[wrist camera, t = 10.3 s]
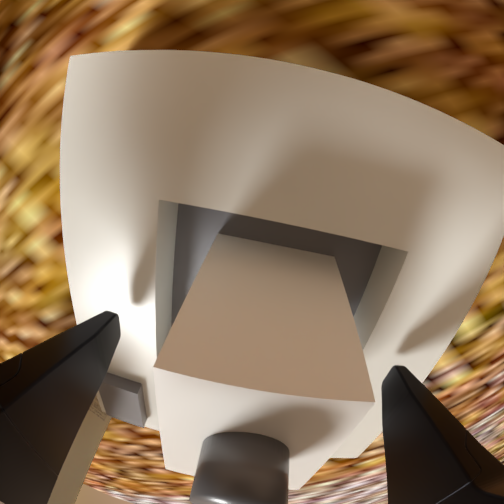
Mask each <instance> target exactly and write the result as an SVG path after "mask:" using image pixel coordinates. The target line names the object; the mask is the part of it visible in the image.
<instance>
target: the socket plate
mask: <svg viewBox="0 0 504 504" xmlns="http://www.w3.org/2000/svg"><path fill="white" fill-rule="evenodd" d="M60 200H61V218H62V231H63V242H64V251H65V260H66V267H67V274H68V281H69V287H70V293H71V298H72V304H73V309H74V314H75V319H76V323H77V325H78V324H80V323H82V322H84V321H86V320H88V319H90V318H92V317H94V316H96V315H98V314H100V313H102V312H104V311H111V312H114V313H117V314H118V316H119V321H120V330H121V336H120V340H119V343H118V345H117V348H116V350H115V353H114V355H113V358H112V360H111V363H110V366H109V368H108V371H107V373H106V376H105V378H104V380H103V382H102V384H101V386H100V388H99V390H98V392H97V394H96V396H97V399H98V402H99V404H100V407H101V410H102V412H105V413H106V414H107V415H108V416H111V417H114V418H116V419H119V420H122V421H125V422H128V423H131V424H133V425H136V426H140V427H143V428H144V426H145V427H148V428H151V429H155V430H158V431H160V429H159V422H158V413H157V404H156V395H155V384H154V372H153V366H154V364H155V361H156V359H157V357H158V355H159V353H160V351H161V348H162V346H163V344H164V342H165V340H166V338H167V336H168V334H169V331H170V329H171V327H172V325H173V323H174V321H175V319H176V317H177V315H178V312H179V310H180V308H181V306H182V304H183V302H184V300H185V298H186V296H187V294H188V292H189V290H190V288H191V286H192V284H193V282H194V280H195V278H196V276H197V274H198V272H199V270H200V268H201V266H202V264H203V262H204V260H205V258H206V256H207V254H208V252H209V250H210V248H211V246H212V244H213V242H214V240H215V238H216V236H217V234H223V235H228V236H233V237H238V238H244V239H249V240H254V241H259V242H264V243H269V244H274V245H279V246H284V247H289V248H294V249H299V250H304V251H309V252H314V253H319V254H323V255H328V256H333V257H335V260H336V263H337V266H338V269H339V272H340V275H341V278H342V282H343V285H344V288H345V291H346V294H347V298H348V301H349V304H350V308H351V311H352V314H353V318H354V321H355V325H356V328H357V332H358V335H359V339H360V342H361V346H362V350H363V354H364V357H365V361H366V365H367V369H368V373H369V377H370V381H371V385H372V389H373V394H374V398H375V403H374V405H373V406H372V407H371V409H370V410H369V411H368V413H367V414H366V415H365V417H364V418H363V419H362V420H361V422H360V423H359V424H358V425H357V427H356V428H355V429H354V430H353V432H352V433H351V434H350V435H349V436H348V438H347V439H346V440H345V441H344V442H343V443H342V445H341V446H340V447H339V448H338V449H337V450H336V451H335V453H334V454H333V455H332V456H331V457H330V458H357V457H358V456H359V455H360V454H361V453H362V452H363V451H364V450H365V449H366V448H367V447H368V446H369V445H370V444H371V443H372V442H373V441H374V440H375V439H376V438H377V436H378V435H379V434H380V433H381V432H382V431H383V428H382V393H381V386H382V382H383V380H384V378H385V377H386V375H387V374H388V372H389V371H390V369H391V368H392V367H393V366H394V365H402V366H405V367H406V368H407V369H408V370H409V371H410V372H411V373H412V374H413V375H414V376H415V377H416V378H417V379H418V380H419V381H420V382H421V383H423V381H424V380H425V379H426V377H427V376H428V374H429V373H430V372H431V370H432V369H433V367H434V366H435V364H436V363H437V362H438V360H439V359H440V357H441V356H442V354H443V353H444V351H445V350H446V348H447V346H448V345H449V343H450V342H451V340H452V339H453V337H454V335H455V334H456V332H457V330H458V329H459V327H460V325H461V324H462V322H463V320H464V318H465V317H466V315H467V313H468V311H469V309H470V308H471V306H472V304H473V302H474V300H475V298H476V296H477V294H478V292H479V290H480V288H481V286H482V284H483V282H484V280H485V278H486V276H487V274H488V272H489V270H490V267H491V265H492V263H493V261H494V258H495V256H496V254H497V251H498V249H499V246H500V244H501V241H502V239H503V236H504V145H503V144H501V143H499V142H498V141H496V140H494V139H493V138H491V137H489V136H487V135H486V134H484V133H482V132H480V131H479V130H477V129H475V128H473V127H471V126H469V125H467V124H465V123H463V122H461V121H459V120H457V119H455V118H453V117H451V116H449V115H447V114H445V113H443V112H441V111H439V110H436V109H434V108H432V107H430V106H427V105H425V104H423V103H420V102H418V101H416V100H413V99H411V98H408V97H406V96H403V95H400V94H398V93H395V92H392V91H390V90H387V89H384V88H381V87H378V86H375V85H372V84H369V83H366V82H363V81H360V80H356V79H353V78H350V77H346V76H343V75H339V74H336V73H332V72H328V71H324V70H320V69H316V68H312V67H307V66H303V65H298V64H293V63H288V62H283V61H277V60H272V59H266V58H259V57H252V56H245V55H237V54H228V53H218V52H205V51H188V50H128V51H112V52H100V53H90V54H81V55H74V56H70V60H69V66H68V72H67V79H66V86H65V94H64V102H63V113H62V125H61V143H60Z"/></svg>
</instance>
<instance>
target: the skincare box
mask: <svg viewBox="0 0 504 504" xmlns="http://www.w3.org/2000/svg"><path fill="white" fill-rule="evenodd" d="M111 418H112V417H111V416H108V415H107V414H106V413H105V412H102V410H101V407H100V404H99V402H98V399H97V396H95V398H94V400H93V402H92V404H91V406H90V408H89V410H88V412H87V414H86V416H85V418H84V420H83V422H82V425H81V427H80V429H79V431H78V433H77V435H76V437H75V439H74V442H73V444H72V446H71V448H70V450H69V453H68V455H67V457H66V459H65V462H64V464H63V466H62V469H61V471H60V473H59V475H58V478H57V481H56V483H55V486H54V488H53V491H52V493H51V496H50V498H49V501H48V503H47V504H75V501H76V499H77V496H78V494H79V491H80V489H81V486H82V484H83V482H84V479H85V477H86V474H87V472H88V470H89V467H90V465H91V463H92V460H93V458H94V456H95V453H96V451H97V449H98V446H99V444H100V442H101V440H102V437H103V435H104V433H105V431H106V429H107V426H108V424H109V422H110V420H111Z"/></svg>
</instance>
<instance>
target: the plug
mask: <svg viewBox="0 0 504 504" xmlns="http://www.w3.org/2000/svg"><path fill="white" fill-rule="evenodd" d="M153 372H154V384H155V395H156V404H157V413H158V422H159V429H160V437H161V444H162V450H163V457H164V463H165V469H168V470H172V471H175V472H179V473H183V474H188V475H192V476H195V477H194V481H193V486H192V490H191V494H190V501H191V503H193V504H288V489H289V490H299V489H300V488H301V487H302V486H303V485H304V484H305V483H306V482H307V481H308V480H309V479H310V478H311V477H312V476H313V475H314V474H315V473H316V472H317V471H318V470H319V469H320V468H321V467H322V466H323V465H324V463H325V462H326V461H327V460H328V459H329V458H330V457H331V456H332V455H333V454H334V453H335V451H336V450H337V449H338V448H339V447H340V446H341V445H342V443H343V442H344V441H345V440H346V439H347V438H348V436H349V435H350V434H351V433H352V432H353V430H354V429H355V428H356V427H357V425H358V424H359V423H360V422H361V420H362V419H363V418H364V417H365V415H366V414H367V413H368V411H369V410H370V409H371V407H372V406H373V405H374V403H375V398H374V394H373V389H372V385H371V381H370V377H369V373H368V369H367V365H366V361H365V357H364V354H363V350H362V346H361V342H360V339H359V335H358V332H357V328H356V325H355V321H354V318H353V314H352V311H351V308H350V304H349V301H348V298H347V294H346V291H345V288H344V285H343V282H342V278H341V275H340V272H339V269H338V266H337V263H336V260H335V257H333V256H328V255H323V254H319V253H314V252H309V251H304V250H299V249H294V248H289V247H284V246H279V245H274V244H269V243H264V242H259V241H254V240H249V239H244V238H238V237H233V236H228V235H223V234H217V236H216V238H215V240H214V242H213V244H212V246H211V248H210V250H209V252H208V254H207V256H206V258H205V260H204V262H203V264H202V266H201V268H200V270H199V272H198V274H197V276H196V278H195V280H194V282H193V284H192V286H191V288H190V290H189V292H188V294H187V296H186V298H185V300H184V302H183V304H182V306H181V308H180V310H179V312H178V315H177V317H176V319H175V321H174V323H173V325H172V327H171V329H170V331H169V334H168V336H167V338H166V340H165V342H164V344H163V346H162V348H161V351H160V353H159V355H158V357H157V359H156V361H155V364H154V366H153Z"/></svg>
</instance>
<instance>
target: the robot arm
mask: <svg viewBox="0 0 504 504" xmlns="http://www.w3.org/2000/svg"><path fill="white" fill-rule="evenodd" d="M120 336H121V330H120V321H119V316H118V314H117V313H114V312H111V311H104V312H102V313H100V314H98V315H96V316H94V317H92V318H90V319H88V320H86V321H84V322H82V323H80V324H78V325H76V326H74V327H72V328H70V329H68V330H66V331H64V332H62V333H60V334H58V335H56V336H54V337H52V338H50V339H48V340H46V341H44V342H42V343H40V344H38V345H36V346H34V347H32V348H30V349H28V350H27V351H25V352H23V354H22V353H20V354H19V355H17V356H15V357H13V358H11V359H9V360H6V361H4V362H2V363H0V504H47V503H48V501H49V498H50V496H51V493H52V491H53V488H54V486H55V483H56V481H57V478H58V475H59V473H60V471H61V469H62V466H63V464H64V462H65V459H66V457H67V455H68V453H69V450H70V448H71V446H72V444H73V442H74V439H75V437H76V435H77V433H78V431H79V429H80V427H81V425H82V422H83V420H84V418H85V416H86V414H87V412H88V410H89V408H90V406H91V404H92V402H93V400H94V398H95V396H96V394H97V392H98V390H99V388H100V386H101V384H102V382H103V380H104V378H105V376H106V373H107V371H108V368H109V366H110V363H111V360H112V358H113V355H114V353H115V350H116V348H117V345H118V343H119V340H120ZM381 393H382V428H383V438H384V448H385V459H386V472H387V488H388V504H504V465H503V464H502V463H501V462H500V461H498V460H497V459H496V458H495V457H494V456H493V455H492V454H491V453H490V452H489V451H487V450H486V449H485V448H484V447H483V446H482V445H481V444H480V443H479V442H478V441H477V440H476V439H475V438H474V437H473V436H472V435H471V434H470V433H469V431H468V430H466V428H465V427H464V426H463V425H462V424H461V423H460V422H459V421H458V420H457V419H456V418H455V417H454V416H453V415H452V414H451V413H450V412H449V411H448V409H447V408H446V407H445V406H444V405H443V404H442V403H441V402H440V401H439V400H438V399H437V398H436V397H435V396H434V395H433V394H432V393H431V392H430V391H429V390H428V389H427V388H426V387H425V386H424V385H423V384H422V383H421V382H420V381H419V380H418V379H417V378H416V377H415V376H414V375H413V374H412V373H411V372H410V371H409V370H408V369H407V368H406V367H405V366H402V365H394V366H393V367H392V368H391V369H390V371H389V372H388V374H387V375H386V377H385V378H384V380H383V382H382V386H381Z"/></svg>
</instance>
